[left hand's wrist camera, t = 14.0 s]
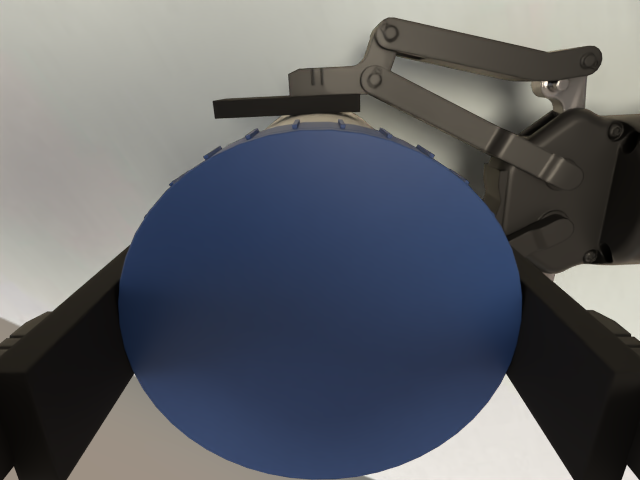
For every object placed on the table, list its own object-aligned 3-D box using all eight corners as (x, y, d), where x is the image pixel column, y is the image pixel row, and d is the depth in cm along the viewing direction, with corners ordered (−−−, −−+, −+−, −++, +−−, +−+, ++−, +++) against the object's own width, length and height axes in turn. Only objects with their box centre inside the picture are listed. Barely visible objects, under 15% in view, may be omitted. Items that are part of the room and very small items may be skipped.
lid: (87, 166, 11) (41, 183, 9) (481, 76, 10) (515, 76, 8) (207, 452, 14) (191, 504, 12) (505, 402, 14) (533, 450, 12)
